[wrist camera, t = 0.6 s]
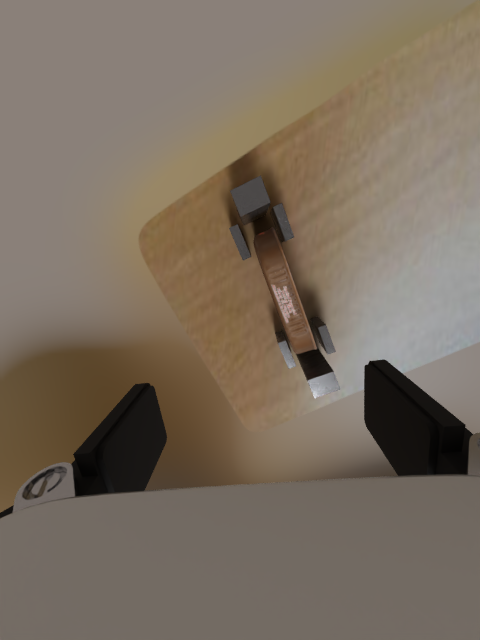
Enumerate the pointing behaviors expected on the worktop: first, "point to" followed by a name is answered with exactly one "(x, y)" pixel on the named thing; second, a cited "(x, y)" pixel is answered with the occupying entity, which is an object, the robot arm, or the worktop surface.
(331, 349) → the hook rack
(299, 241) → the worktop surface
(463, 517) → the robot arm
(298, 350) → the tin
